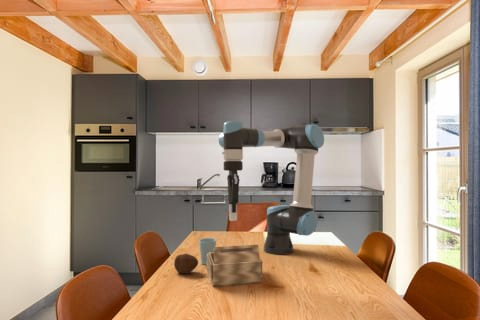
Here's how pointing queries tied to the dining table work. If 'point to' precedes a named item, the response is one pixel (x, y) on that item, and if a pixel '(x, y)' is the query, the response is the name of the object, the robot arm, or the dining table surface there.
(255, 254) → the flap
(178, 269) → the potato
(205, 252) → the cup
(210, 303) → the dining table surface
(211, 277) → the carton
